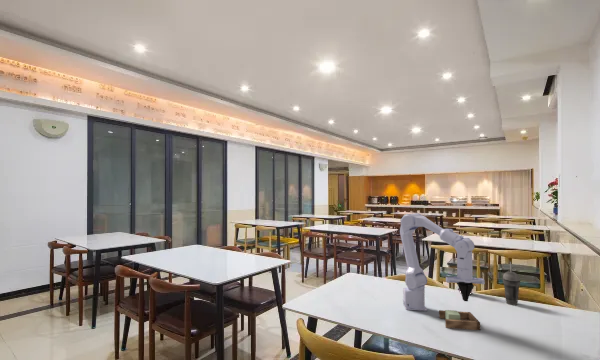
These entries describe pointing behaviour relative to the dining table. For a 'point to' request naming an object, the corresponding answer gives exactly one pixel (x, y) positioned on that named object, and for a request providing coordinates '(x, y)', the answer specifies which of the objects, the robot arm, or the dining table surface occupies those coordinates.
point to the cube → (452, 315)
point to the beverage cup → (511, 286)
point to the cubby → (461, 321)
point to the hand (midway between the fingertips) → (465, 300)
